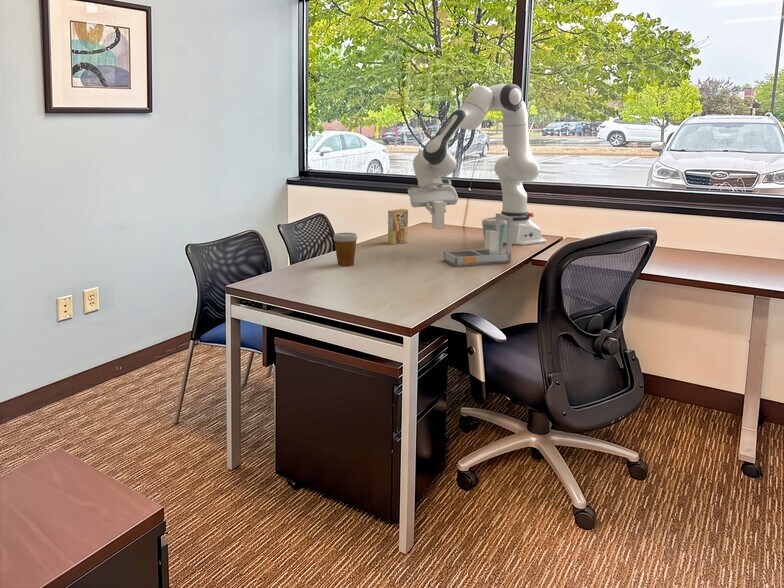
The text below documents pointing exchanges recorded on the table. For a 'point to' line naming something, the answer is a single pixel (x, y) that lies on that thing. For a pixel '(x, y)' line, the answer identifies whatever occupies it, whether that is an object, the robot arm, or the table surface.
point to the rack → (485, 248)
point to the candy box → (397, 226)
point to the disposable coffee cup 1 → (345, 248)
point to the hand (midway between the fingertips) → (438, 212)
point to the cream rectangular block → (438, 215)
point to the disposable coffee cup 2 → (490, 225)
